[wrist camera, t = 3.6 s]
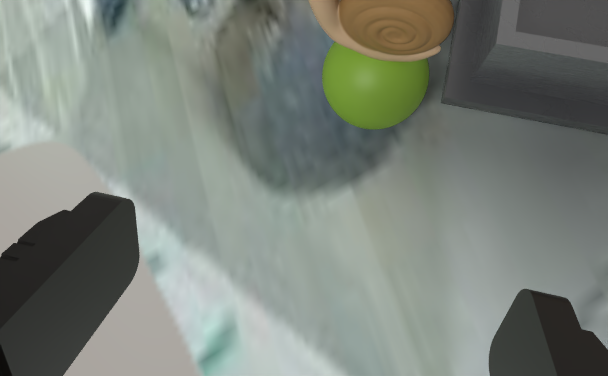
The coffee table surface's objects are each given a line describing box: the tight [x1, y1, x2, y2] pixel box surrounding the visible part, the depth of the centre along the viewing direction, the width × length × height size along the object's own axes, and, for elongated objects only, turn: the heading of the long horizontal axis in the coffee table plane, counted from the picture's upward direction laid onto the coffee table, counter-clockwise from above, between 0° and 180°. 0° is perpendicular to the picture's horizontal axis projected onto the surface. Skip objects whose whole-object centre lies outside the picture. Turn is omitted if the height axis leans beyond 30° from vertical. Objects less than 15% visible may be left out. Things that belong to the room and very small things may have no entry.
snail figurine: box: [309, 0, 454, 129], centre depth 20 cm, size 5×6×12 cm
